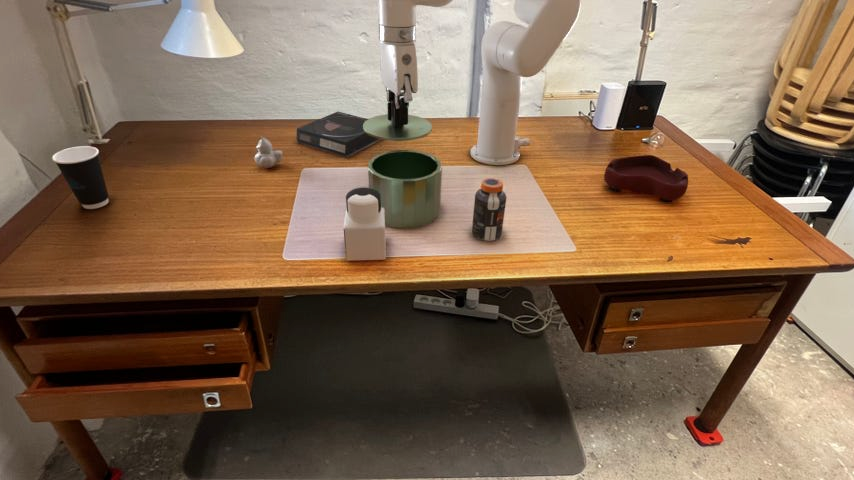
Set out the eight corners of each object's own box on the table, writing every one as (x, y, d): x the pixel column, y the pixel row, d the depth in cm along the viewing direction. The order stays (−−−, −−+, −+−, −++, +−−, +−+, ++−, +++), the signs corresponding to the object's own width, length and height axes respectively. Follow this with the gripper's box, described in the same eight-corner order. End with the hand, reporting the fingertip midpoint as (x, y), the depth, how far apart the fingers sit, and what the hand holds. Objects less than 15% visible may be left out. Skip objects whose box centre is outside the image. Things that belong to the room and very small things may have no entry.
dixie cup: (117, 191, 111) (99, 143, 104) (116, 208, 105) (97, 158, 98) (75, 198, 108) (53, 149, 101) (72, 215, 102) (49, 164, 95)
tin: (421, 189, 115) (422, 145, 109) (451, 219, 105) (454, 172, 99) (360, 202, 110) (357, 156, 104) (386, 234, 99) (384, 186, 93)
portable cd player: (297, 143, 135) (295, 129, 132) (339, 125, 147) (337, 111, 144) (345, 158, 128) (344, 143, 126) (385, 137, 140) (384, 123, 138)
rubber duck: (257, 162, 125) (251, 130, 120) (285, 161, 126) (280, 130, 121) (255, 171, 120) (248, 139, 116) (283, 170, 121) (278, 138, 117)
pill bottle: (500, 243, 98) (506, 190, 91) (469, 239, 99) (474, 187, 92) (502, 228, 102) (509, 176, 96) (473, 224, 103) (478, 173, 97)
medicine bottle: (348, 240, 97) (343, 183, 90) (385, 239, 98) (383, 182, 91) (346, 261, 92) (340, 202, 84) (385, 260, 92) (383, 202, 85)
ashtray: (685, 180, 123) (691, 161, 120) (681, 210, 111) (688, 189, 108) (609, 165, 129) (614, 147, 126) (598, 192, 116) (603, 172, 114)
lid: (414, 115, 124) (414, 87, 120) (443, 137, 113) (445, 107, 109) (353, 123, 118) (351, 94, 114) (378, 148, 107) (377, 116, 103)
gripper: (431, 41, 99) (428, 132, 110) (398, 25, 111) (398, 109, 121) (396, 43, 96) (396, 137, 107) (365, 27, 108) (369, 113, 119)
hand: (397, 121), depth 114 cm, fingers closed on lid, 2 cm apart
